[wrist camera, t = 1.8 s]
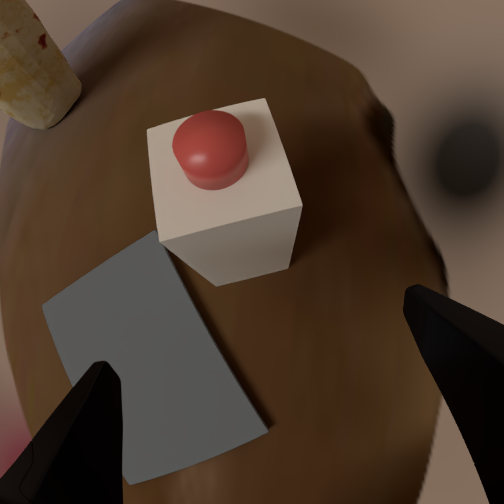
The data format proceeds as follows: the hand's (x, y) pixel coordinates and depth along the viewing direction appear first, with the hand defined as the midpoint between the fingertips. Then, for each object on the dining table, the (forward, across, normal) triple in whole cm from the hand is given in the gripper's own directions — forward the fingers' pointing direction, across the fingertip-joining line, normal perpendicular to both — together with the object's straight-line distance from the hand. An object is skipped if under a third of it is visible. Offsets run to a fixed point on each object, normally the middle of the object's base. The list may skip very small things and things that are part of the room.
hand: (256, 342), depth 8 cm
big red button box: (+13, 0, +4) cm, 14 cm away
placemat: (+8, +9, +9) cm, 15 cm away
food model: (+28, +18, -10) cm, 35 cm away
